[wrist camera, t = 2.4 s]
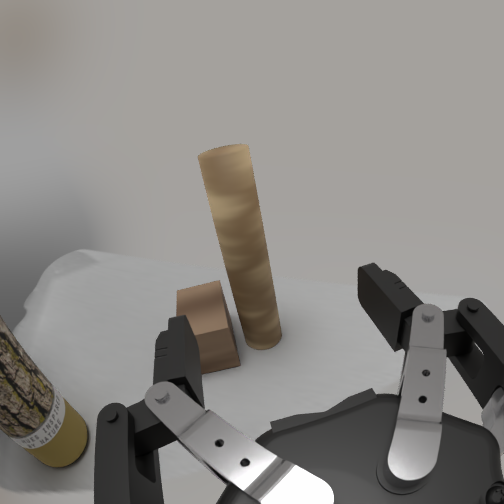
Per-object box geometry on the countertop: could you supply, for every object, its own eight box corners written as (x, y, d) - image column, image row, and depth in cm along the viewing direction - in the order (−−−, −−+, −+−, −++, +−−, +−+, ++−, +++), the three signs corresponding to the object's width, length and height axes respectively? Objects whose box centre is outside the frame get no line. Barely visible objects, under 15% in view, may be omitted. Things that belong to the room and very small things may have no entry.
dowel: (248, 353, 28) (198, 162, 19) (242, 328, 31) (197, 152, 22) (285, 343, 29) (252, 149, 20) (276, 319, 32) (244, 141, 23)
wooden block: (240, 365, 27) (228, 327, 25) (194, 375, 27) (176, 339, 24) (230, 317, 33) (219, 280, 31) (191, 326, 33) (176, 290, 30)
